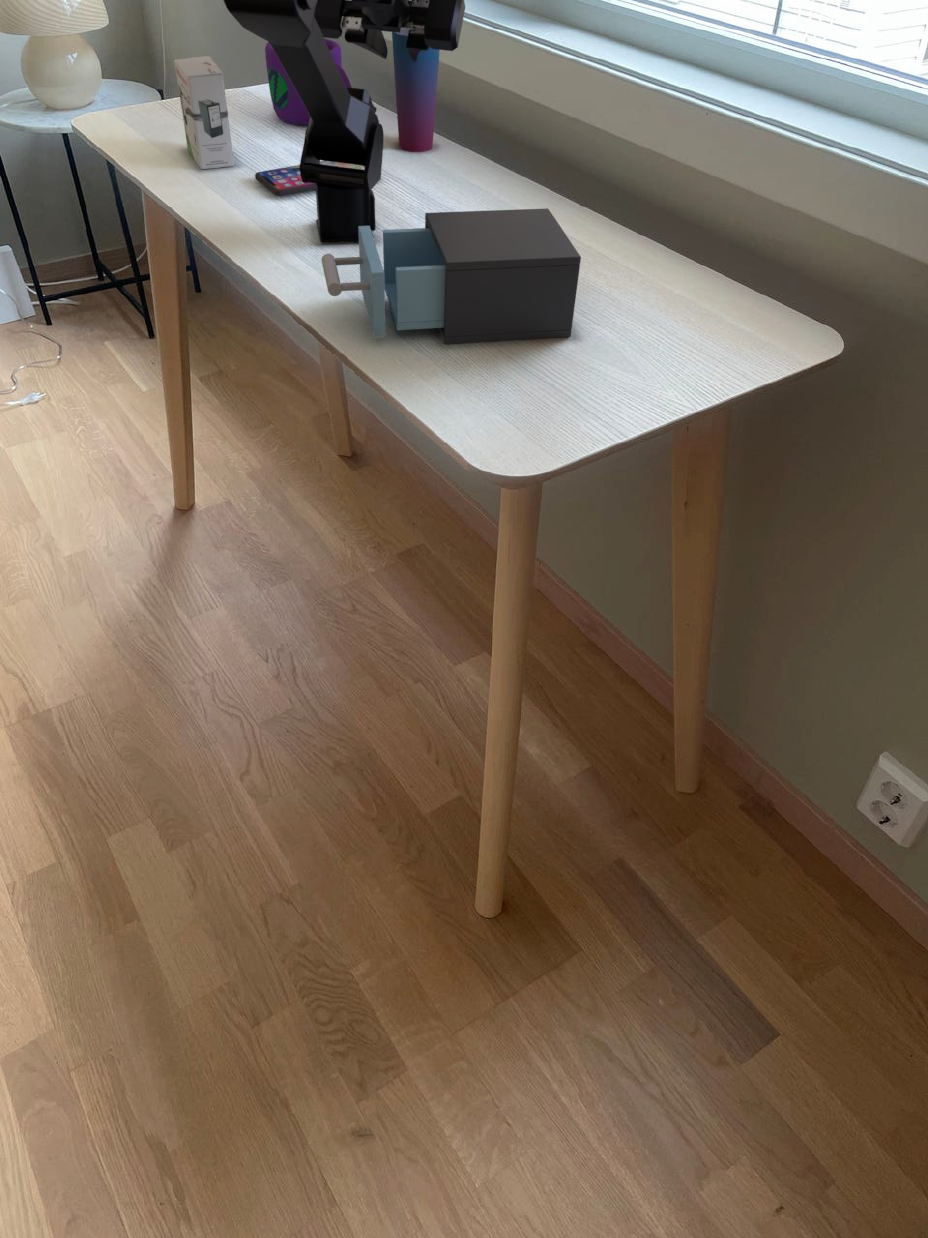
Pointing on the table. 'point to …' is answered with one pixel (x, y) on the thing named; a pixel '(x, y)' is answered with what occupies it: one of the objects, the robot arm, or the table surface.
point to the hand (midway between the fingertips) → (400, 56)
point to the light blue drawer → (396, 278)
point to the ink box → (204, 112)
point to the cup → (415, 94)
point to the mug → (284, 91)
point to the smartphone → (292, 179)
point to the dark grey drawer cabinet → (505, 275)
